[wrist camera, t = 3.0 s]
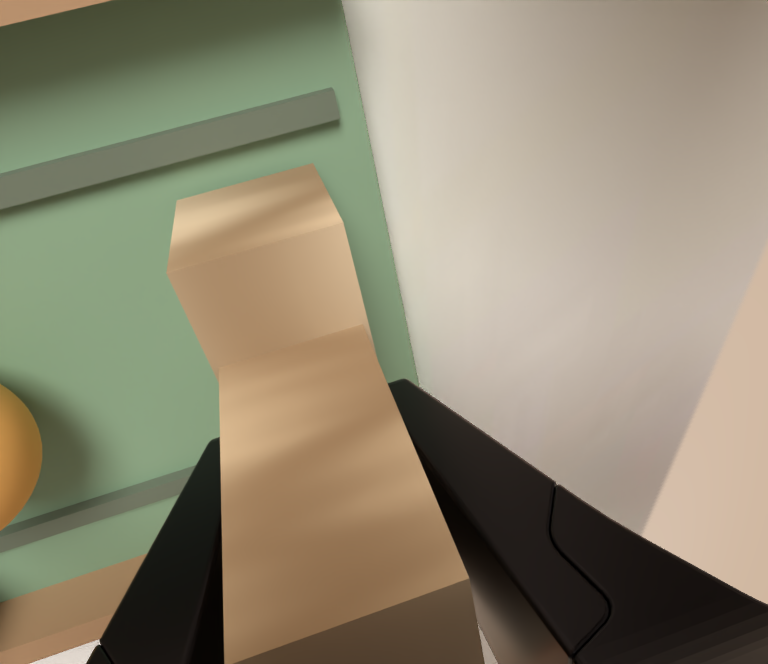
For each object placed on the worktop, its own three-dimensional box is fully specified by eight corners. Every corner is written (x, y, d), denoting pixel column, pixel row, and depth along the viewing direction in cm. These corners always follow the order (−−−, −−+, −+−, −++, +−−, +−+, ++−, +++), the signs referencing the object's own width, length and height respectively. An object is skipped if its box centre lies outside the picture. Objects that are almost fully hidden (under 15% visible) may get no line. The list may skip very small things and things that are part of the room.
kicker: (312, 163, 11) (458, 447, 4) (375, 395, 14) (505, 739, 8) (176, 200, 10) (125, 560, 4) (273, 427, 14) (325, 810, 8)
